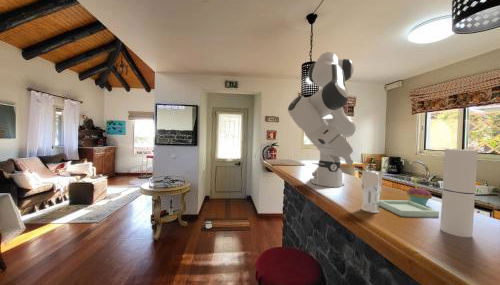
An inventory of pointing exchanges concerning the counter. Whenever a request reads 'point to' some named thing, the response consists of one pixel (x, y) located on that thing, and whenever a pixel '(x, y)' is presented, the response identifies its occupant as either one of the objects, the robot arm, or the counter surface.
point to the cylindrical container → (458, 192)
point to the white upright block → (371, 190)
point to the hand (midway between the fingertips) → (344, 162)
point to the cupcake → (419, 195)
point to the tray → (408, 208)
